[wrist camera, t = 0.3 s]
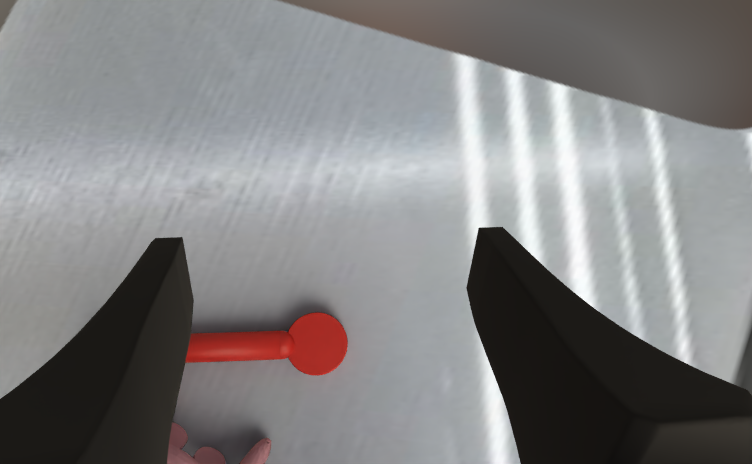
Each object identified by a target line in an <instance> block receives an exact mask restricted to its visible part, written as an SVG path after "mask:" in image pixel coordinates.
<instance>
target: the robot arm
mask: <svg viewBox="0 0 752 464" xmlns="http://www.w3.org/2000/svg"><path fill="white" fill-rule="evenodd" d="M467 292H468V297H469V301H470V306H471V310H472V314H473V318H474V322H475V325H476V328H477V331H478V333H479V336H480V339H481V341H482V344H483V347H484V349H485V352H486V355H487V357H488V360H489V362H490V365H491V368H492V370H493V373H494V375H495V378H496V381H497V383H498V386H499V388H500V391H501V394H502V396H503V399H504V402H505V405H506V408H507V411H508V415H509V419H510V423H511V426H512V430H513V434H514V438H515V442H516V445H517V450H518V454H519V458H520V462H521V464H752V395H751V394H750V393H749V391H748V390H746V389H743V388H741V387H738V386H736V385H734V384H731V383H729V382H726V381H724V380H722V379H719V378H717V377H714V376H712V375H710V374H707V373H705V372H703V371H700V370H698V369H696V368H694V367H692V366H690V365H688V364H686V363H684V362H682V361H680V360H678V359H676V358H674V357H672V356H670V355H668V354H666V353H664V352H662V351H661V350H659V349H657V348H655V347H653V346H652V345H650V344H648V343H647V342H645V341H643V340H641V339H640V338H638V337H636V336H634V335H633V334H631V333H630V332H628V331H626V330H625V329H623V328H622V327H620V326H619V325H617V324H616V323H614V322H613V321H611V320H610V319H609V318H607V317H606V316H604V315H603V314H601V313H600V312H598V311H597V310H596V309H594V308H593V307H592V306H590V305H589V304H588V303H586V302H585V301H584V300H583V299H581V298H580V297H579V296H578V295H576V294H575V293H574V292H573V291H571V290H570V289H569V288H568V287H567V286H565V285H564V284H563V283H562V282H561V281H560V280H558V279H557V278H556V277H555V276H554V275H553V274H552V273H551V272H549V271H548V270H547V269H546V268H545V267H544V266H543V265H542V264H541V263H540V262H539V261H538V260H536V259H535V258H534V257H533V256H532V255H531V254H530V253H529V252H528V251H527V250H526V249H525V248H524V247H523V246H522V245H521V244H520V243H519V242H518V241H517V240H516V239H515V238H514V237H512V236H511V235H510V234H509V233H508V232H507V231H506V230H505V229H504V228H503V227H490V228H479V230H478V235H477V240H476V244H475V249H474V254H473V259H472V264H471V269H470V274H469V278H468V283H467ZM193 301H194V300H193V294H192V289H191V283H190V277H189V272H188V266H187V260H186V255H185V249H184V244H183V238H182V237H177V238H155V239H154V240H153V241H152V242H151V243H150V245H149V246H148V248H147V249H146V251H145V252H144V253H143V255H142V256H141V258H140V259H139V261H138V262H137V263H136V265H135V266H134V267H133V269H132V270H131V271H130V273H129V274H128V275H127V277H126V278H125V279H124V281H123V282H122V283H121V284H120V286H119V287H118V288H117V289H116V291H115V292H114V293H113V294H112V296H111V297H110V298H109V299H108V300H107V302H106V303H105V304H104V305H103V306H102V307H101V308H100V310H99V311H98V312H97V313H96V314H95V315H94V316H93V317H92V319H91V320H90V321H89V322H88V323H87V324H86V325H85V326H84V327H83V328H82V329H81V330H80V331H79V332H78V334H77V335H76V336H75V337H74V338H73V339H72V340H71V341H70V342H68V343H67V344H66V345H65V346H64V347H63V348H62V349H61V350H60V351H59V352H58V353H57V354H56V355H55V356H54V357H52V358H51V359H50V360H49V361H48V362H47V363H45V364H44V365H43V366H42V367H41V368H40V369H38V370H37V371H36V372H35V373H33V374H32V375H31V376H30V377H29V378H27V379H26V380H25V381H24V382H22V383H21V384H20V385H19V386H17V387H16V388H15V389H13V390H12V391H11V392H9V393H8V394H7V395H5V396H4V397H2V398H1V399H0V464H167V457H168V448H169V439H170V433H171V427H172V421H173V416H174V412H175V407H176V402H177V398H178V393H179V389H180V384H181V380H182V375H183V371H184V366H185V361H186V357H187V352H188V347H189V342H190V337H191V326H192V314H193Z"/></svg>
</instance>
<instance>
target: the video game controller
mask: <svg viewBox="0 0 752 464" xmlns="http://www.w3.org/2000/svg"><path fill="white" fill-rule="evenodd" d="M187 439H188V437H187V434H186V432H185V430H184V429H183V428H182V427H181V426H180V425H178V424H176V423H173V422H172V427H171V433H170V439H169V448H168V457H167V464H225V458H224V456H223V455H222V454H221V453H220V452H219V451H218V450H216V449H214V448H211V447H202V448H200V449H198V450H197V451H196V453H195V455H194V456H193V458H192V457H191V456H190V455H189V454H187V453H186V452H185V451H183V450H181V449H182V448H183V447H184V445H185V444H186V442H187ZM270 449H271V440H270V439H269V438H264V439H262V440H260V441H259V442H258V443H257V444H255V445H254V446H253V447H252V449H251V450H250V451H249V452H248V453H247V455H246V456H245V457H244V458H243V459H242V461H241V462H240V463H239V464H265V462H266V460H267V458H268V456H269V453H270Z"/></svg>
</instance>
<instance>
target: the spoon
mask: <svg viewBox="0 0 752 464" xmlns="http://www.w3.org/2000/svg"><path fill="white" fill-rule="evenodd" d="M347 344H348V342H347V336H346V332H345V330H344V328H343V326H342V325H341V323H340V322H339V321H338V320H337V319H335V318H334V317H332V316H331V315H328V314H325V313H319V312H315V313H309V314H306V315H304V316H302V317H300V318H299V319H297V320H296V321H295V322H294V323H293V324H292V326H291V327H290V329H289V331H288V332H286V331H255V332H224V333H193V334H191V337H190V342H189V347H188V352H187V357H186V361H185V363H192V362H220V361H248V360H275V359H285V358H289V360H290V362H291V363H292V364H293V365H294V367H296V368H297V369H298V370H299V371H301V372H303V373H305V374H309V375H323V374H327V373H329V372H331V371H333V370H334V369H336V368H337V367H338V366H339V365H340V363H341V362H342V361H343V359H344V357H345V355H346V352H347Z"/></svg>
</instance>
